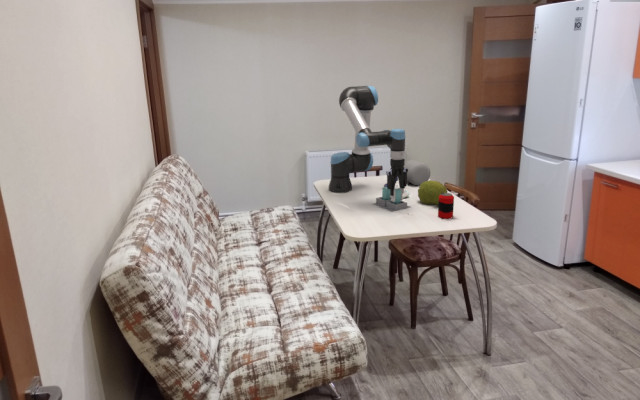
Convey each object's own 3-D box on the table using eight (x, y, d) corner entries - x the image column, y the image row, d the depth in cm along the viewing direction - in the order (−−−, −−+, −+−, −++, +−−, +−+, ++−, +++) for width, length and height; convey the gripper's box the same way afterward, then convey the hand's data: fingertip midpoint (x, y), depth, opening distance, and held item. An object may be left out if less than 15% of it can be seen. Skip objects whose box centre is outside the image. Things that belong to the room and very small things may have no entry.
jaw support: (410, 196, 268) (397, 184, 267) (398, 207, 271) (386, 195, 270) (410, 191, 280) (398, 179, 279) (399, 201, 283) (387, 190, 282)
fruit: (442, 199, 272) (452, 179, 262) (440, 215, 262) (451, 195, 252) (415, 190, 273) (424, 170, 263) (413, 205, 262) (422, 185, 252)
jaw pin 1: (380, 203, 265) (380, 187, 262) (386, 202, 267) (386, 186, 264) (385, 205, 261) (385, 189, 259) (391, 203, 263) (391, 188, 261)
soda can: (441, 213, 248) (442, 191, 244) (455, 216, 243) (456, 193, 240) (435, 217, 242) (436, 194, 239) (449, 219, 238) (450, 197, 234)
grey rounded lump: (400, 180, 298) (390, 166, 321) (413, 195, 304) (403, 181, 326) (423, 160, 295) (411, 148, 317) (436, 176, 300) (424, 163, 323)
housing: (371, 205, 265) (371, 198, 264) (390, 201, 272) (390, 194, 270) (391, 213, 250) (391, 206, 249) (411, 208, 257) (412, 201, 256)
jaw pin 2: (390, 205, 257) (391, 189, 255) (397, 203, 259) (397, 188, 257) (396, 207, 253) (396, 191, 251) (402, 205, 256) (402, 189, 253)
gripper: (389, 161, 242) (388, 204, 248) (414, 157, 250) (413, 199, 257) (380, 159, 248) (379, 201, 254) (405, 155, 256) (404, 196, 263)
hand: (396, 200), depth 255 cm, fingers closed on jaw pin 2, 4 cm apart
